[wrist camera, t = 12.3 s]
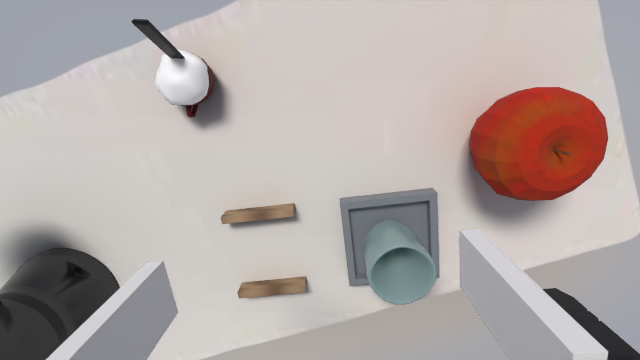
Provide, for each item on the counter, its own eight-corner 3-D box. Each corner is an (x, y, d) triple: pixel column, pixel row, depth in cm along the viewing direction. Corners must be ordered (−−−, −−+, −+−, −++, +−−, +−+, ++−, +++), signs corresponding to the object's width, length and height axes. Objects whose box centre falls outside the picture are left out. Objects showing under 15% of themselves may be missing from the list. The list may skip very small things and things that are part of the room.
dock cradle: (348, 278, 49) (349, 285, 47) (339, 198, 46) (340, 203, 44) (434, 269, 48) (439, 277, 47) (432, 188, 45) (436, 192, 43)
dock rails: (243, 288, 50) (238, 298, 48) (226, 210, 47) (220, 217, 44) (306, 282, 50) (305, 292, 47) (294, 203, 46) (292, 209, 44)
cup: (386, 201, 45) (401, 232, 35) (425, 235, 46) (450, 273, 37) (349, 239, 47) (354, 278, 37) (387, 270, 48) (402, 316, 38)
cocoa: (209, 118, 44) (169, 136, 32) (163, 99, 43) (106, 110, 31) (231, 49, 41) (196, 42, 29) (183, 27, 40) (128, 11, 28)
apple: (463, 191, 45) (521, 236, 31) (436, 111, 42) (488, 122, 29) (553, 156, 43) (655, 188, 30) (531, 70, 40) (633, 62, 27)
